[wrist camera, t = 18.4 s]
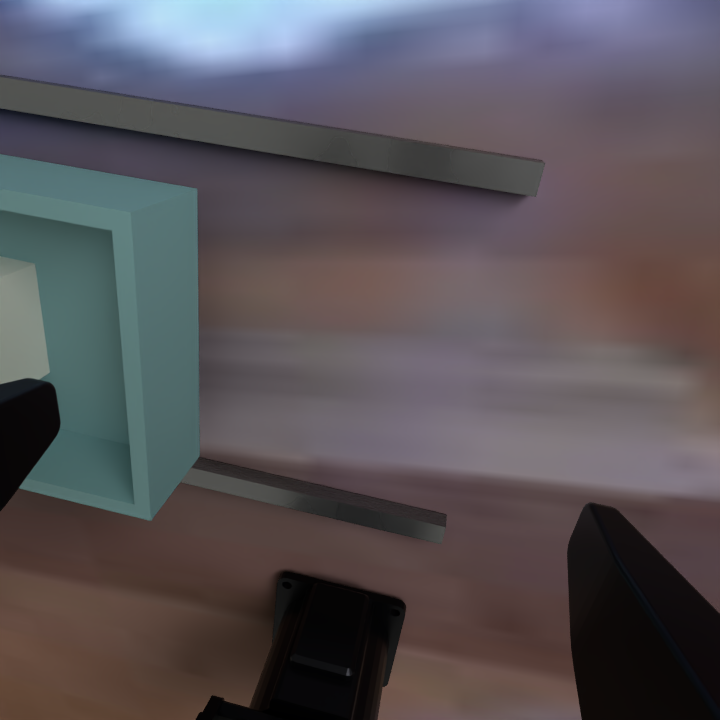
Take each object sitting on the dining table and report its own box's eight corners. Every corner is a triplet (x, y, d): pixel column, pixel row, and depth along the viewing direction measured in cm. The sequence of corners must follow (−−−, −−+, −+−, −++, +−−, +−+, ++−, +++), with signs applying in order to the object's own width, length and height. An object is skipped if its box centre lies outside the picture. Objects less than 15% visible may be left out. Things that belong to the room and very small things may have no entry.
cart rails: (442, 531, 25) (439, 565, 23) (-125, 398, 28) (-165, 418, 26) (542, 160, 17) (549, 168, 16) (-245, 35, 20) (-314, 30, 19)
